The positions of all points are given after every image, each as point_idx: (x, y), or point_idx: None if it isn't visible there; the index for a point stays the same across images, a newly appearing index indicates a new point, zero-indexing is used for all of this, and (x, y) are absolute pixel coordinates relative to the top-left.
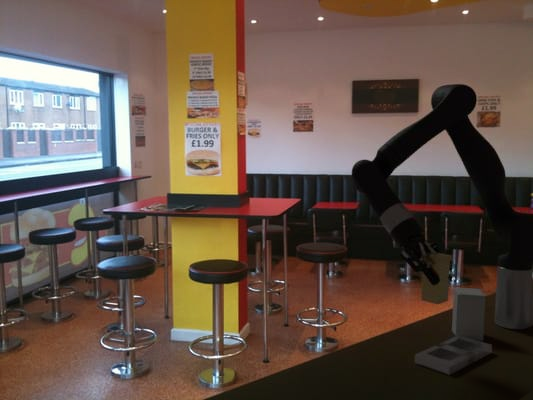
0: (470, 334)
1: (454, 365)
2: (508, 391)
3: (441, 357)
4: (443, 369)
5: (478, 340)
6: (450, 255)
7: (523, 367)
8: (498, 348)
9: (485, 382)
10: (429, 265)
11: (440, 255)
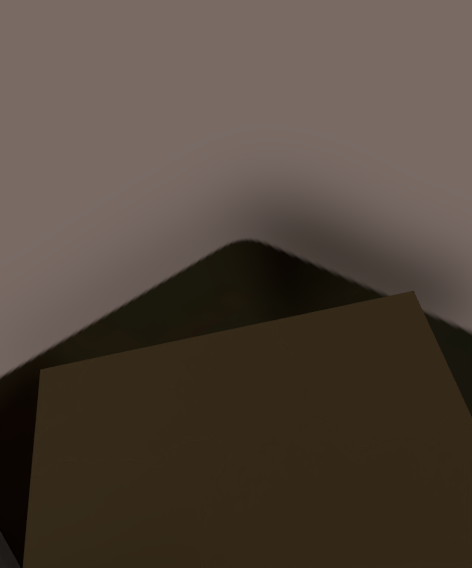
0: (3, 561)
1: None
2: (264, 260)
3: None
4: None
5: (1, 534)
6: (60, 386)
7: (111, 322)
8: (25, 445)
9: (271, 311)
10: None
11: (218, 483)
